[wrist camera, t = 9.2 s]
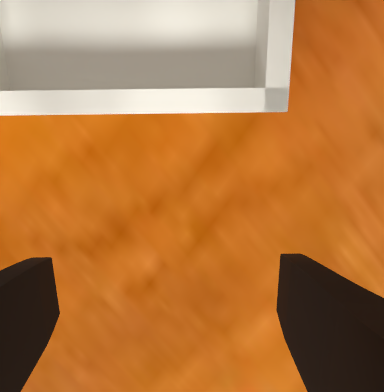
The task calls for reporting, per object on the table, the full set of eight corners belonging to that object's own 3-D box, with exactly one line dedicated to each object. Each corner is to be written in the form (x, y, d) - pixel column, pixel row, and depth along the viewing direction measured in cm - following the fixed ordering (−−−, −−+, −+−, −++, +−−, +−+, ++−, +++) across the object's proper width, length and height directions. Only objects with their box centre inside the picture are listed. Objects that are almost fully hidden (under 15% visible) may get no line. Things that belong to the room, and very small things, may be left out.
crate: (10, 112, 18) (-39, 116, 14) (-22, -79, 15) (-92, -139, 11) (266, 108, 18) (287, 111, 14) (276, -82, 15) (305, -142, 12)
